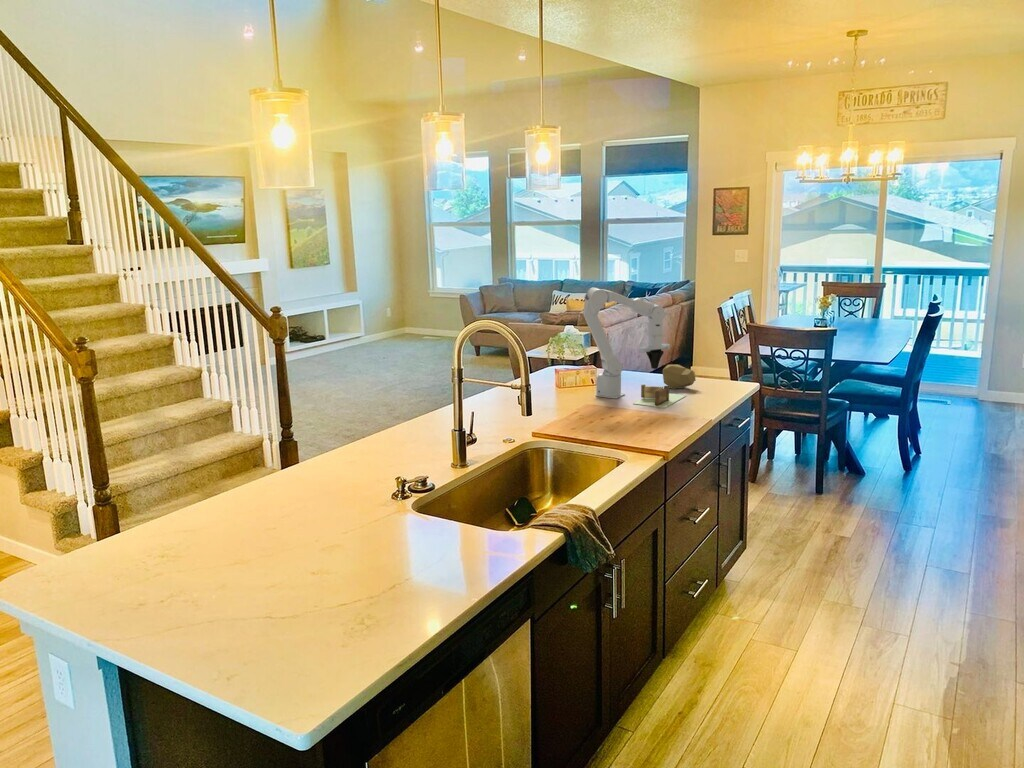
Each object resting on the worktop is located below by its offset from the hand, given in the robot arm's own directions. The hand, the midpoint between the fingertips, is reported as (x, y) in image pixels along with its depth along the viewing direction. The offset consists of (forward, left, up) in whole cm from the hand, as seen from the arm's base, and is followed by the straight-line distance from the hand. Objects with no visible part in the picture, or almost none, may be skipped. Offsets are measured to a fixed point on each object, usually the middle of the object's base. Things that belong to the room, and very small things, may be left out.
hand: (654, 368), depth 309 cm
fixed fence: (+9, -13, -10) cm, 19 cm away
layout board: (+6, -9, -10) cm, 15 cm away
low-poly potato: (+5, +14, -11) cm, 18 cm away
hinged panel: (+3, -10, -10) cm, 14 cm away
